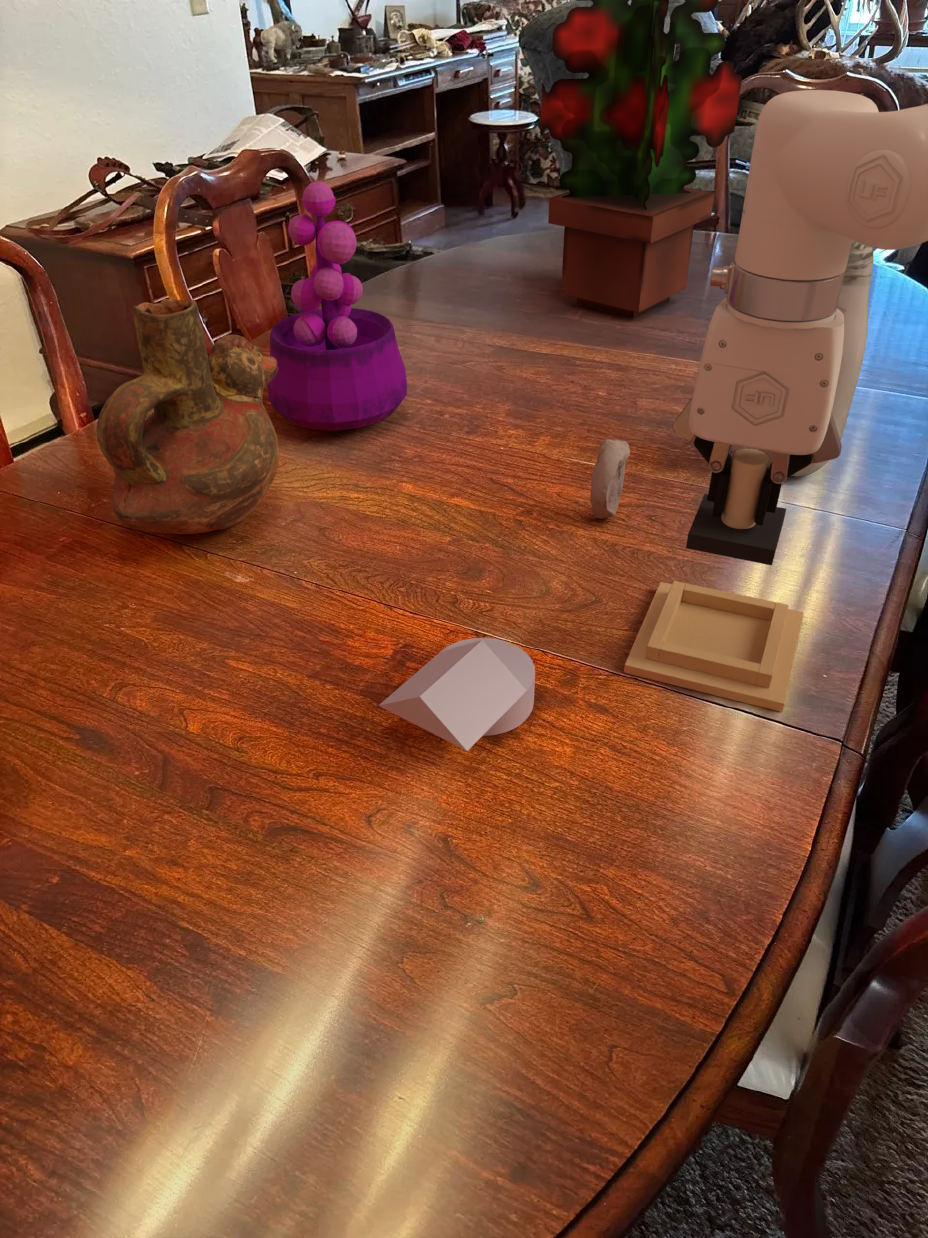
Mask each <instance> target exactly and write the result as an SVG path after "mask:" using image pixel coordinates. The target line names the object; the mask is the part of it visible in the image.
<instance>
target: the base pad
mask: <svg viewBox="0 0 928 1238" xmlns="http://www.w3.org/2000/svg"><path fill="white" fill-rule="evenodd" d="M789 607H790V604H787V603H781V602H777V601H776V602H775V601H773V600H767V599H762V598H757V597H753V596H748V595H744V594H740V593H735V592H730V591H726V590H725V591H724V590H721V589H720V590H719V589H715V588H711V587H706V586H701V585H697V584H692V583H688V582H687V583H685V582H682V581H677V580H673V582H672V583H669V582H665V581H660V582H659V583H658V586H657V589H656V591H655V593H654V596H653V597H652V600H651V603H650V605H649V607H648V608H647V609H648V610H647V612H646V613H645V617H644V619H643V620H642V623H641V626H640V628H639V630H638V633H637V635H636V638H635V640H634V642H633V644H632V647H631V649H630V650H629V653H628V656H627V658H626V660H625V663H624V667H623V673H624V674H627V675H630V676H631V675H632V676H635V677H640V678H644V679H648V680H652V681H655V682H660V683H664V684H668V685H672V686H676V687H681V688H684V689H687V690H692V691H696V692H699V693H704V694H708V695H712V696H717V697H720V698H724V699H729V700H733V701H737V702H740V703H744V704H748V705H752V706H757V707H760V708H765V709H769V710H773V711H777V712H780V713H782V712H783V711H784V709H785V705H786V701H787V694H788V690H789V686H790V681H791V677H792V671H793V667H794V663H795V658H796V652H797V647H798V642H799V637H800V633H801V628H802V623H803V618H804V614H805V613H804V611H800V610H795V609H791V608H789Z"/></svg>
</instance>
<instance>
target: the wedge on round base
mask: <svg viewBox="0 0 928 1238" xmlns="http://www.w3.org/2000/svg"><path fill="white" fill-rule="evenodd" d="M535 687H536V667H535V664H534V662H533V660H532V658H531V657H530V655H529V654H528V653H527V652H526V651H525V650H524V649H522V647H519V646H518V645H516V644H514V643H511V642H509V641H507V640H504V639H498V638H491V637H473V638H466V639H462V640H460V641H456V642H454V643H452V644H449V645H448V646H446V647H444V648H443V649H441V651H439V652H438V653H437V654H436V655H435V656H434V657H432V658H431V659H430V660H429V661H428V662H427V663H425V665H423V666H422V667H421V668H420V669H419V670H417V671H416V672H415V673H414V674H413V675H411V676H410V678H408V679H407V680H406V681H405V682H404V683H403V684H401V686H399V687H398V688H397V689H395V691H394V692H392V693H391V694H390V695H389V696H388V697H387V698H386V699H384V700H383V701H382V702H381V703H380V704H378V707H380V708H382V709H384V710H386V711H387V712H390V713H392V714H394V715H396V716H398V717H400V718H402V719H403V720H405V721H408V722H409V723H411V724H412V725H414V726H417V727H419V728H421V729H423V730H425V731H427V732H429V733H431V734H432V735H434V736H437V737H439V738H441V739H443V740H444V741H446V742H449V743H450V744H452V745H454V746H456V747H458V748H460V749H462V750H464V751H466V752H468V751H469V750H470V749H471V748H473V746H474V745H475V744H476V743H477V742H478V741H479V740H480V739H481V738H482V737H488V736H490V737H491V736H495V735H501V734H504V733H508V732H509V731H512V730H514V729H516V728H518V727H519V726H520V725H522V724H523V723H524V722H525V721H527V719H528V718H529V717H530V715H531V714H532V711H533V708H534V705H535V689H536V688H535Z"/></svg>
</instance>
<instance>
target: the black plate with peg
mask: <svg viewBox="0 0 928 1238" xmlns="http://www.w3.org/2000/svg"><path fill="white" fill-rule="evenodd" d="M768 462H769V457H768V455H767V454H765V453H764V452H762V451H759V450H757V449H753V448H740V449H737V450H736V451H734V452H733V454H732V463H731V469H730V476H729V481H728V487H727V492H726V498H725V503H724V508H723V512H722V515H721V516H719V517H714V516H712V513H713V507H714V502H711V501H707V497H708V493H704V494H703V496H702V499H701V502H700V504H699V506H698V509H697V511H696V513H695V516H694V518H693V520H692V523H691V525H690V527H689V531H688V533H687V538H686V545H685V549H688V550H693V551H698V552H701V553H708V554H712V555H716V556H723V557H727V558H731V559H739V560H741V561H742V560H743V561H747V562H752V563H756V564H762V565H768V566H773V563H774V559H775V556H776V551H777V548H778V545H779V541H780V537H781V533H782V529H783V526H784V521H785V517H786V513H787V508H785V507H779V506H777V508H776V511H775V513H771V512H767V513H766V516H765V520H764V523H763V526H761V525H756V523H755V522H754V521H755V516H756V511H757V507H758V502H759V497H760V492H761V488H762V483H763V480H764V477H765V476H766V471H767V468H769V467H768Z"/></svg>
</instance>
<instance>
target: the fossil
mask: <svg viewBox="0 0 928 1238" xmlns="http://www.w3.org/2000/svg"><path fill="white" fill-rule="evenodd" d="M630 455H631V451H630V445H629V442H627V441H626V440H620V439H610V438H609V439H608V438H606V439H603V441H602V443H601V444H600V446H599V447H598V451H597V456H596V461H595V463H594V465H593V469H592V473H591V485H590V486H591V488H590V495H589V498H590V505H591V510H592V511H591V512H592V514H593V517H595V518H596V519H599V520H604V519H607V518H610V517H614V516H616V513H617V511H618V507H619V505H620V500H621V496H622V493H623V488H624V481H625V476H626V475H625V473H626V472H625V471H626V463H627V461H628V458H629V457H630Z"/></svg>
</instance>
